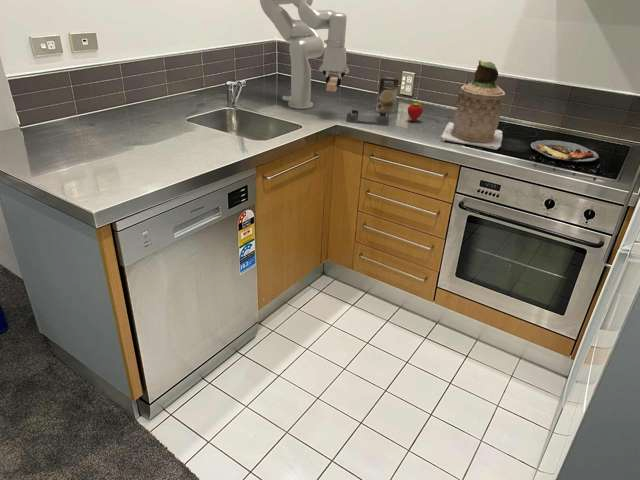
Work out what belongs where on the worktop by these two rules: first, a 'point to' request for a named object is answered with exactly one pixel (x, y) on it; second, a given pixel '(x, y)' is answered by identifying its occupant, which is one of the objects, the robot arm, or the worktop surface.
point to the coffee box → (387, 94)
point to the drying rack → (367, 118)
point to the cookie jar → (478, 111)
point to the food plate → (565, 151)
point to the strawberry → (415, 111)
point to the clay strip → (332, 84)
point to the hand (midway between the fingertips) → (333, 86)
